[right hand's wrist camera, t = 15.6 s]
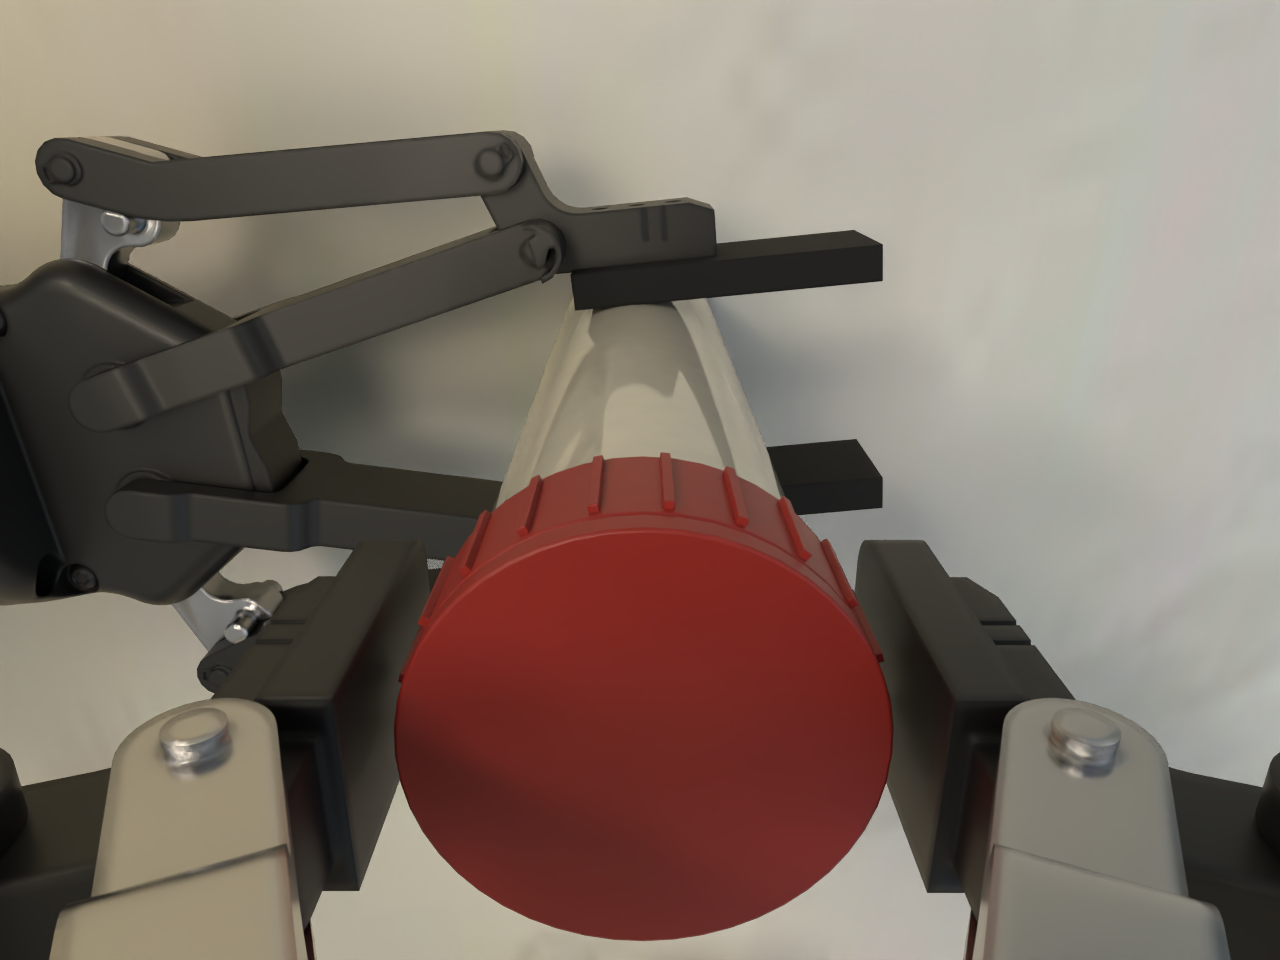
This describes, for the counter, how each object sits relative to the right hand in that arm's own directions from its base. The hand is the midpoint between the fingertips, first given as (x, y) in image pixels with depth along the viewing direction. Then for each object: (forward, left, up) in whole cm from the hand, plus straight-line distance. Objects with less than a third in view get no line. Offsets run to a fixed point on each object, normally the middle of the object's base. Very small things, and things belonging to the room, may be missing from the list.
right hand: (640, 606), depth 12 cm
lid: (0, 0, +3) cm, 3 cm away
